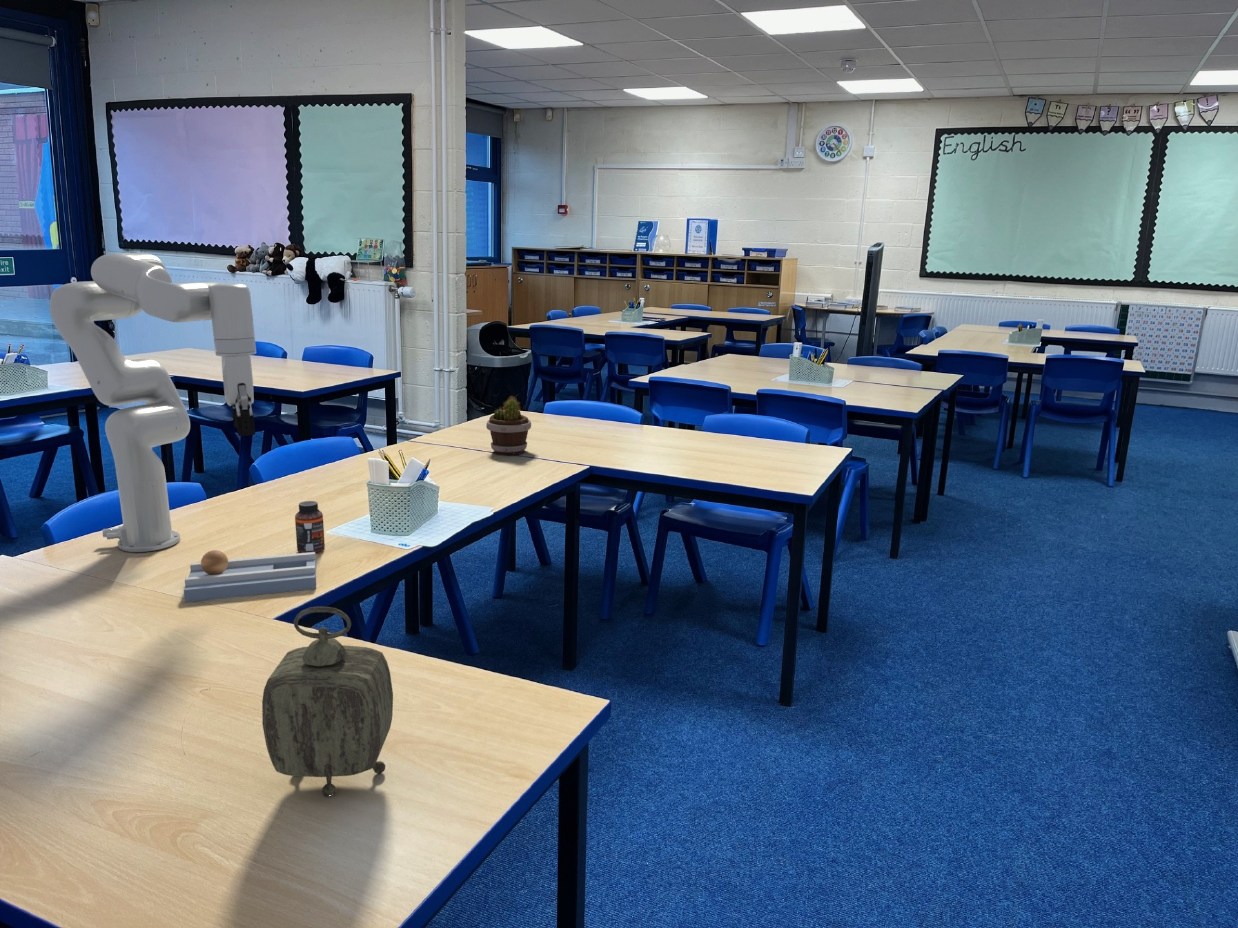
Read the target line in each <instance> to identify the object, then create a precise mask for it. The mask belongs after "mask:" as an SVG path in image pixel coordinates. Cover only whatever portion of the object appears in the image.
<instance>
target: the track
mask: <svg viewBox="0 0 1238 928" xmlns="http://www.w3.org/2000/svg"><path fill="white" fill-rule="evenodd" d="M316 559H317V558H316V554H315V552H310V553H299V552H298V553H291V554H290V553H289V554H279V555H277V554H275V555H268V556H255V557H254V556H253V557H244V558H231V559H228V566H227V568H226V570H225V571H224V572H223V573H221V574H219V575H209V574H207V573H205V572H204V571H203V569H202V567H201V561H199V562H190V565H189V566H190V567H189V568H190V572H189V575H188V577H185V579H184V588H183V595H184V598H183V599H184V603H189V602H199V601H200V602H201V601H209V600H219V599H229V598H230V599H231V598H238V597H239V598H240V597H249V596H259V595H269V594H279V593H287V592H289V593H290V592H299V591H309V590H316V589H317V560H316Z"/></svg>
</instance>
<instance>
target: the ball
mask: <svg viewBox="0 0 1238 928" xmlns="http://www.w3.org/2000/svg"><path fill="white" fill-rule="evenodd" d="M200 560H201V561H200V562H201V567H202V569H203V571H204V572H205V573H207V574H209V575H219V574H221V573H223V572H224V571H225V570H226V568H227V566H228V560H229V558H228V557H227V555H226V554H225V553H224V552H223V551H221V550H216V549H215V550H213V549H212V550H210V551H208V552H206V553H205V554H204V555H203V556H202V558H201V559H200Z"/></svg>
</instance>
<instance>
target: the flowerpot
mask: <svg viewBox="0 0 1238 928" xmlns="http://www.w3.org/2000/svg"><path fill="white" fill-rule="evenodd" d="M502 405H503V406H499V407H498V408H499V409H498V408H497V409H496V410H494V411H493V412H494V413H493V414H492V415H490V417H489V420H487V421H486V426H485V427H486V429H487V430H488V431H490V437H491V440H492V442H491V443H490V447H491V450H493V452H494V453H495V454H496V455H502V456H512V455H514V456H515V455H517V456H518V455H521V454H523V453H525V452H526V451H525V450H527V446H528V442H527V439H528V435H529V434H528V433H529V430H531V427H532V422H531V420H530V419H529V418H528V417H527V416H525V415H523V414H522V412H521V406H520V405H521V403H520V402H519V401H518V400H517V397H515V396H514V397H513V396H511V395H510V396H509V397H508V398H507V400H506V401H503V404H502Z"/></svg>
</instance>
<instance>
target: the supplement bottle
mask: <svg viewBox="0 0 1238 928" xmlns="http://www.w3.org/2000/svg"><path fill="white" fill-rule="evenodd" d="M298 509H299V510H298V512H296V513H295V516H294V523H295V539H296V550H297V552H298V554H299V553H310V552H315V555H317V554H318V555H319V554H320V553H322V552H323V551H324V550H325V545H326V543H325V528H324V527H325V526H324V514H323V512H322V511H321V510H320V508H319V503H318V502H317V501H314V500H306V501H301V502H300V503H298Z"/></svg>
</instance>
